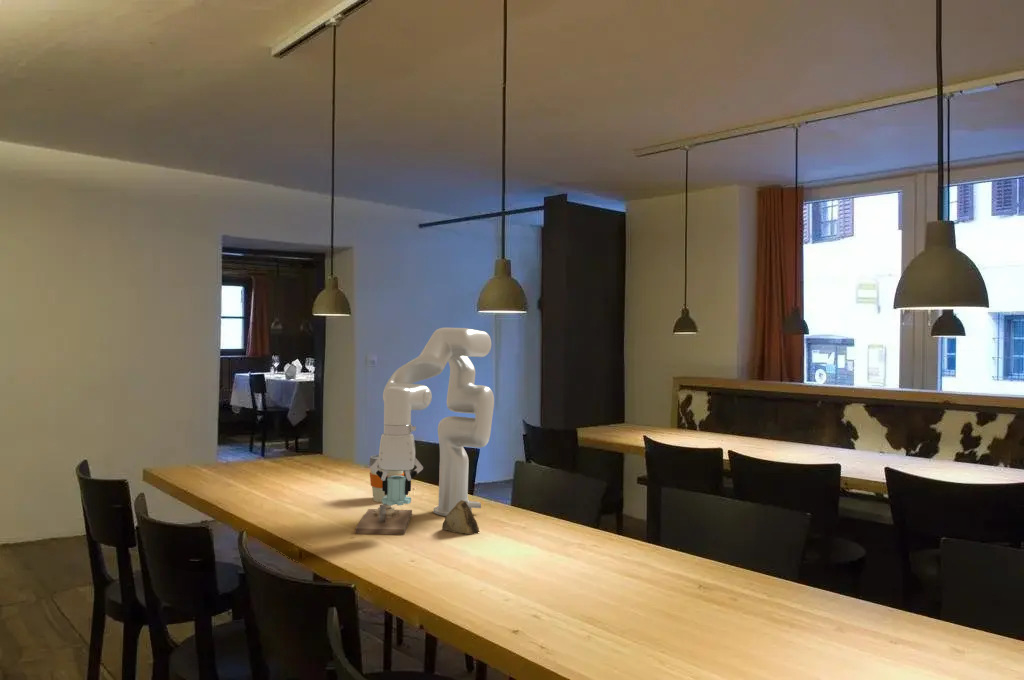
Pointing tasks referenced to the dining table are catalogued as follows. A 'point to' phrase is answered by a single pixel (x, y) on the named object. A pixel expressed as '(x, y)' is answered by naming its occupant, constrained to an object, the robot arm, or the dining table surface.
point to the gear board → (386, 526)
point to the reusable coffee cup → (379, 480)
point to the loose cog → (396, 491)
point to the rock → (461, 519)
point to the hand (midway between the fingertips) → (396, 493)
